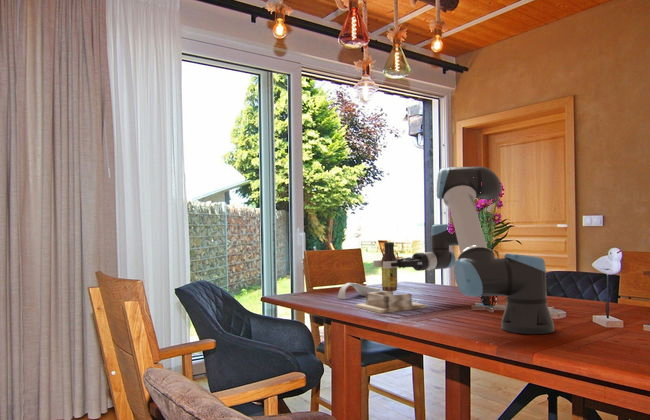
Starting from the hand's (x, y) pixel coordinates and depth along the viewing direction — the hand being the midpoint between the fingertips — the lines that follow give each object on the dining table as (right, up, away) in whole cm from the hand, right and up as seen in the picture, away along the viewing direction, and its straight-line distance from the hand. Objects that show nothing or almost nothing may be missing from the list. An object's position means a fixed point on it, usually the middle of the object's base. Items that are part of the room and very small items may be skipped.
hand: (378, 264), depth 199 cm
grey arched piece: (-5, -20, +35) cm, 41 cm away
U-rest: (+5, -18, +2) cm, 18 cm away
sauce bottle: (+5, -11, +2) cm, 12 cm away
